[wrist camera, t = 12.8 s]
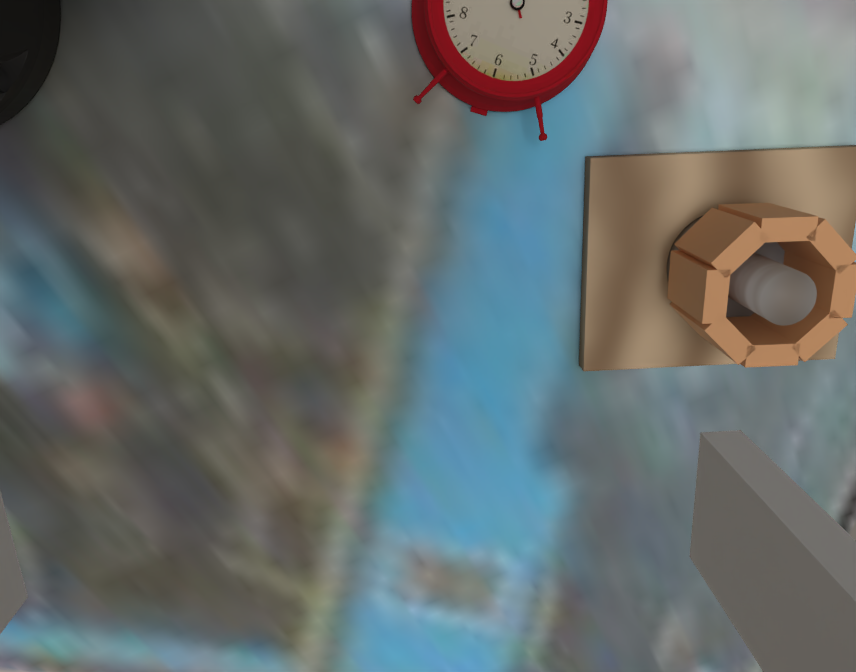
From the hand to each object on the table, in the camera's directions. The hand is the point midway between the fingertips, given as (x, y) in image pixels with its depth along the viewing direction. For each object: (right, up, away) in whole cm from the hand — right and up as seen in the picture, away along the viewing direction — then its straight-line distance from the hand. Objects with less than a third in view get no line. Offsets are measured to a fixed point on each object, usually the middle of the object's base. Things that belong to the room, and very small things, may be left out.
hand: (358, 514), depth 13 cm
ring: (+19, +7, +27) cm, 34 cm away
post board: (+19, +8, +30) cm, 37 cm away
